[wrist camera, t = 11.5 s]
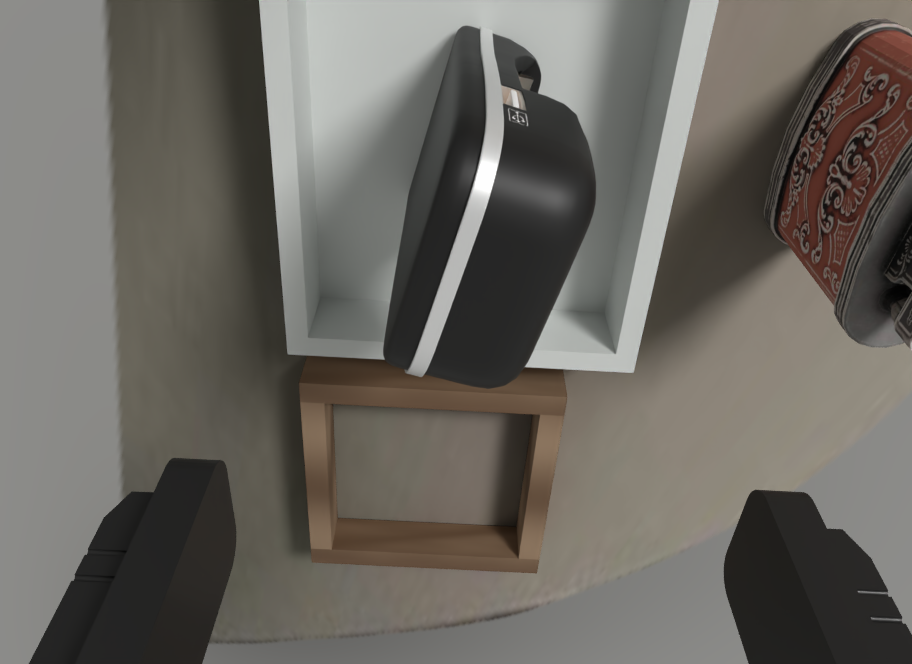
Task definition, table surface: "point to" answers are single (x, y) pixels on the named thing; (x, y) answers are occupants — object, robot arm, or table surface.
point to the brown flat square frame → (423, 540)
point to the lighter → (853, 182)
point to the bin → (402, 136)
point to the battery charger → (488, 218)
